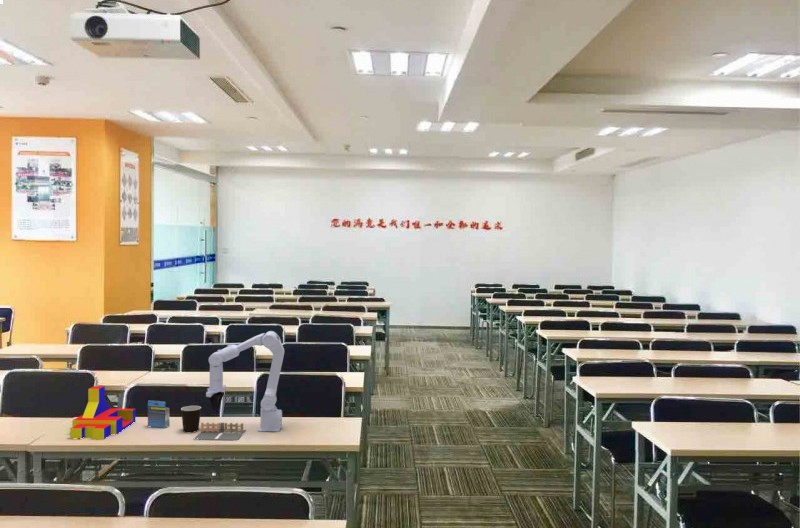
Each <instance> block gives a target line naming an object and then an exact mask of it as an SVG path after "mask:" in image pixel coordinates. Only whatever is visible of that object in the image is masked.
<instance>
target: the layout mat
mask: <svg viewBox="0 0 800 528" xmlns="http://www.w3.org/2000/svg"><path fill="white" fill-rule="evenodd" d="M246 431H247V429H243V433H244V434H245V432H246ZM243 433H241V431H238V433H235V431H232V433H230V431H227V433H220V432H217V431H214V432H212V431H209V432H206V431H203V432H201V431H200V432H199V433H198V434H197V435H195V437H194V438H195V439H197V438H198V439H199V440H198V441H233V440H240V438H242V436H243V435H244V434H243ZM242 434H243V435H242ZM201 439H202V440H201ZM204 439H205V440H204Z"/></svg>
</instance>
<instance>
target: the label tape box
mask: <svg viewBox="0 0 800 528" xmlns="http://www.w3.org/2000/svg"><path fill="white" fill-rule="evenodd" d="M170 424H171V422H170V408H169V407H166V401H163V400H162V401H160V400H148V401H147V427H148V426H151V427H150V428H154V427H167V426H168V427H170V426H169V425H170ZM168 427H167V428H168Z"/></svg>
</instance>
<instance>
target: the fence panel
mask: <svg viewBox="0 0 800 528" xmlns="http://www.w3.org/2000/svg"><path fill="white" fill-rule="evenodd" d="M220 423H221V422H217V423H215V422H211V423H209V422H206V423H204V422H200V432H203V431H206V432H209V431H212V432H214V431H217V432H220ZM204 427H206V428H204ZM210 427H211V428H210ZM215 427H216V428H215Z"/></svg>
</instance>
